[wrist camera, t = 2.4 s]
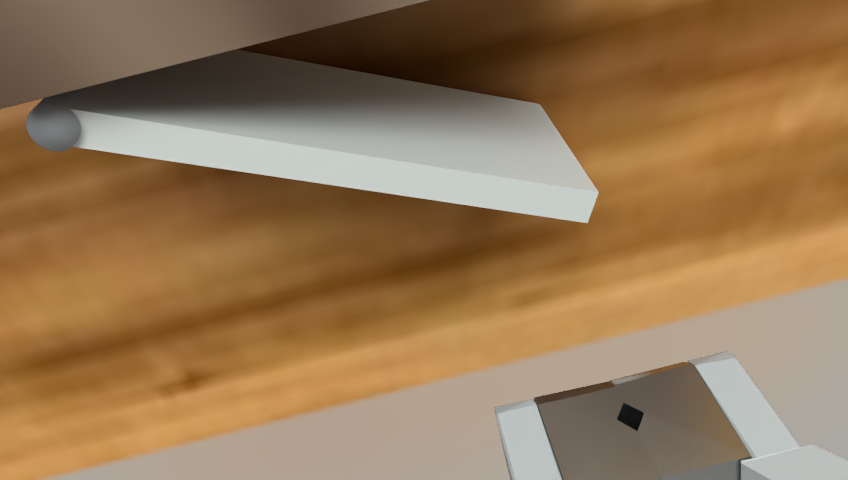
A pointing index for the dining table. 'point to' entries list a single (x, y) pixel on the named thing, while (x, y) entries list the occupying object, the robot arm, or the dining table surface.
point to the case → (143, 36)
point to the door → (328, 132)
